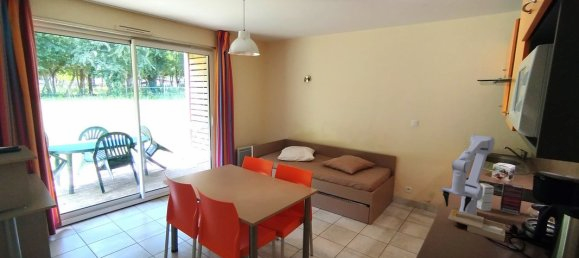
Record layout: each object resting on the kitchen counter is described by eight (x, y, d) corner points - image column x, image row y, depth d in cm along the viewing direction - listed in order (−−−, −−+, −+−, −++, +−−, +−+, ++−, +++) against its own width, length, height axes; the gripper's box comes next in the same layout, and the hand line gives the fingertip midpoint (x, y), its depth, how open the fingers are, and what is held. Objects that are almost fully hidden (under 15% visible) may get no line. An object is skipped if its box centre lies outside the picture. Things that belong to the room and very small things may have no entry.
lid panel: (452, 210, 144) (452, 203, 143) (483, 218, 135) (484, 211, 134) (447, 219, 133) (448, 212, 132) (481, 229, 124) (482, 222, 124)
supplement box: (518, 212, 151) (522, 185, 148) (519, 215, 147) (524, 188, 144) (499, 208, 156) (503, 182, 153) (499, 211, 152) (503, 184, 149)
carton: (470, 220, 139) (470, 215, 138) (504, 230, 130) (505, 224, 130) (466, 231, 128) (467, 225, 128) (503, 242, 119) (504, 236, 119)
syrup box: (491, 211, 151) (495, 186, 149) (481, 210, 151) (485, 186, 149) (483, 206, 157) (487, 183, 155) (473, 206, 157) (477, 183, 154)
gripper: (441, 181, 136) (438, 206, 138) (475, 188, 127) (471, 215, 129) (443, 178, 141) (440, 202, 143) (476, 184, 132) (472, 210, 134)
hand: (455, 208), depth 136 cm, fingers open, 7 cm apart
